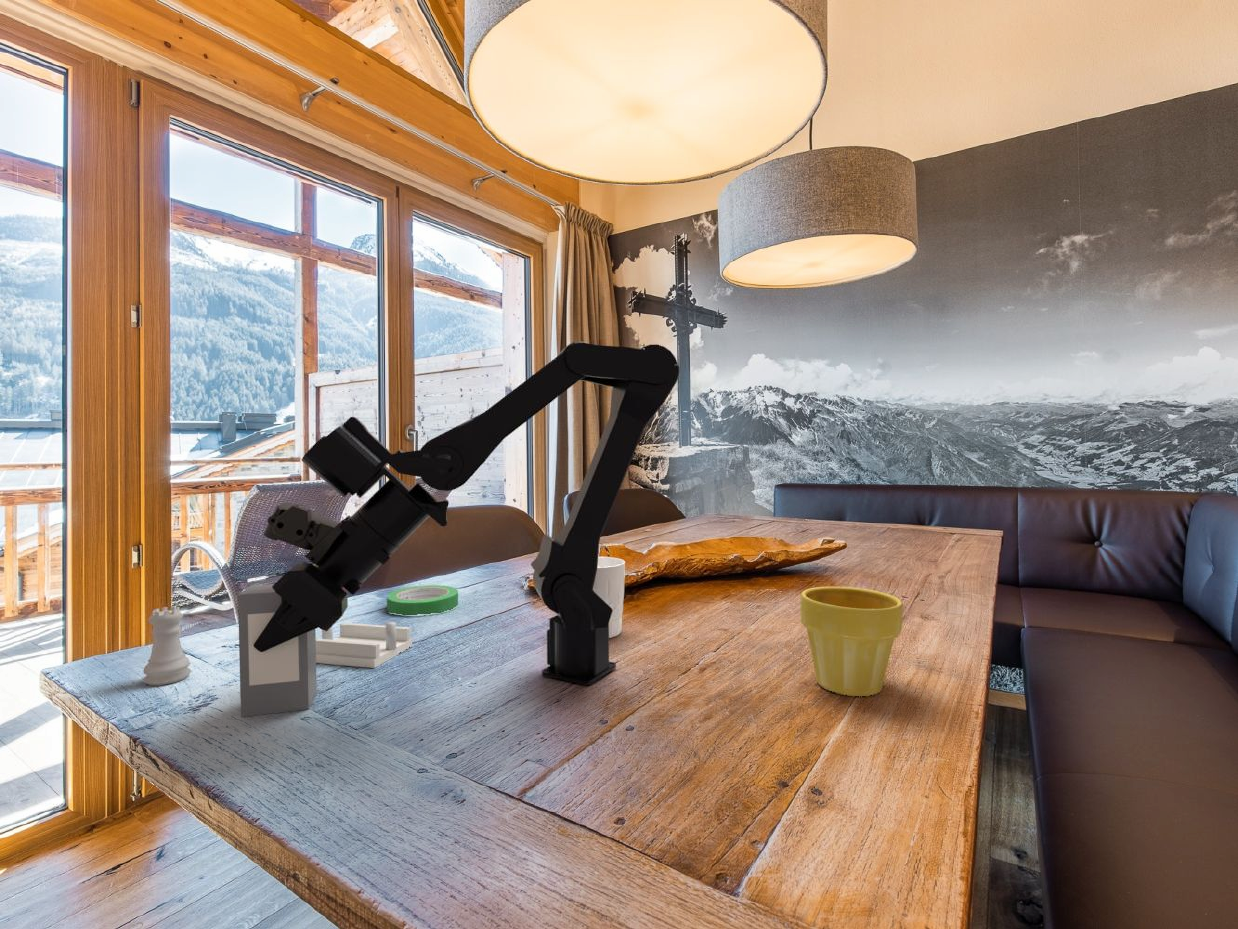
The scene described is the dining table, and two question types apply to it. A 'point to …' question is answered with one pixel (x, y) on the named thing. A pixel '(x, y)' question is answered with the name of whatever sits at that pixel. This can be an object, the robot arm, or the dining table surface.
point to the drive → (272, 659)
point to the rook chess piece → (166, 649)
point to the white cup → (611, 589)
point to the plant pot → (850, 636)
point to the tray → (362, 644)
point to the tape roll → (422, 600)
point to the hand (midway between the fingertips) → (263, 642)
